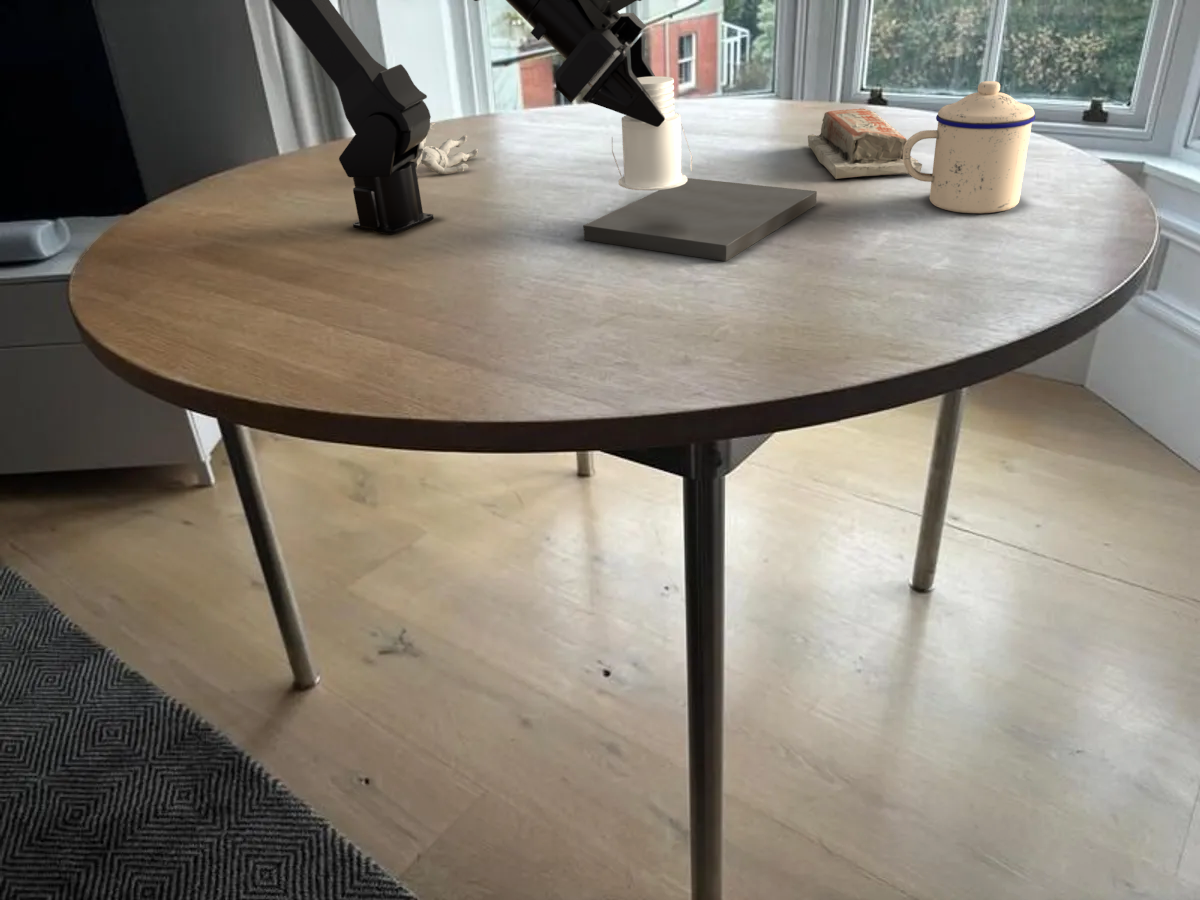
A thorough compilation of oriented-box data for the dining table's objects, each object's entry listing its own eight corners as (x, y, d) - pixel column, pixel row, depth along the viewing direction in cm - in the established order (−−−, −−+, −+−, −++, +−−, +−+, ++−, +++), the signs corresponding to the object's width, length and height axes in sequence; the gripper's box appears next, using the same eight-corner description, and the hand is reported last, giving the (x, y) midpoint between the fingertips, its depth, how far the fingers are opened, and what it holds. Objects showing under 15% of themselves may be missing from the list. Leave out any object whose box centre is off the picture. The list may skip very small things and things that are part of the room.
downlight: (614, 195, 92) (609, 88, 87) (612, 178, 98) (607, 77, 93) (695, 190, 92) (695, 83, 87) (688, 173, 98) (687, 72, 93)
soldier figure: (493, 167, 127) (450, 159, 116) (469, 192, 129) (426, 186, 118) (458, 124, 128) (412, 112, 117) (435, 150, 130) (388, 140, 119)
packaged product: (807, 108, 119) (885, 103, 119) (805, 147, 122) (882, 142, 121) (836, 137, 104) (926, 132, 103) (834, 181, 106) (922, 176, 106)
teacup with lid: (1009, 189, 99) (1027, 72, 93) (1031, 214, 91) (1052, 88, 85) (892, 192, 101) (903, 78, 95) (904, 217, 93) (916, 94, 87)
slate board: (685, 190, 107) (685, 177, 106) (816, 205, 98) (817, 190, 98) (584, 240, 93) (582, 225, 92) (726, 261, 85) (726, 245, 84)
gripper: (581, -73, 76) (716, 67, 79) (620, -78, 92) (731, 39, 95) (500, 35, 81) (629, 162, 85) (550, 14, 97) (657, 121, 101)
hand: (665, 116), depth 91 cm, fingers closed on downlight, 6 cm apart
